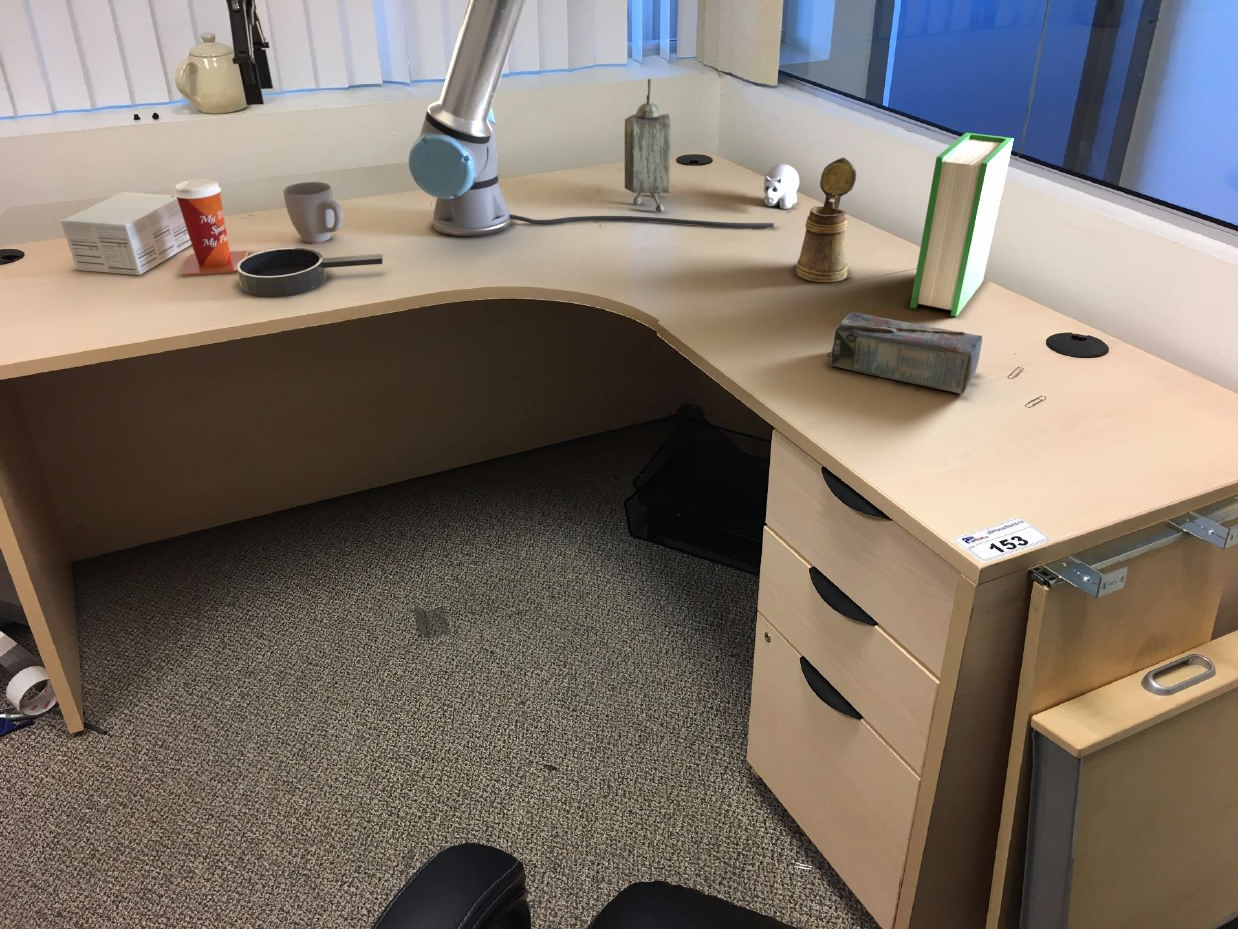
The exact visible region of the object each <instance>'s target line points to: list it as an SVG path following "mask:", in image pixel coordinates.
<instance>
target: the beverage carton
mask: <svg viewBox="0 0 1238 929" xmlns="http://www.w3.org/2000/svg"><path fill="white" fill-rule="evenodd" d="M982 343H983V335H981V334H980V335H978V334H973V333H969V332H964V331H956V330H952V329H944V328H939V327H934V326H929V325H923V324H918V323H917V324H916V323H911V322H907V321H906V322H905V321H900V320H896V319H891V318H886V317H879V316H874V315H869V314H864V313H861V312H860V313H859V312H855V311H851V312H850V313H848V315H847V316H846V317H845V318H844V319H843V320H842V321H841V322H840V323H839V324H838V325H837V327H835V329H834V331H833V342H832V347H831V353H830V366H831V367H836V368H841V369H845V370H850V371H854V372H858V373H861V374H866V375H869V376H870V375H871V376H876V377H880V378H884V379H889V380H895V381H899V382H905V383H910V384H914V385H920V386H924V387H928V388H933V389H939V390H942V391H947V392H952V393H955V394H959V395H963V394H964V393H965V391H966V390H967V388H968V386H969V384H970V383H971V381H972V380H973V378H974V376H975V375H976V372H977V368H978V365H979V362H980V355H981V351H982Z"/></svg>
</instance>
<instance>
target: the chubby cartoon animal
mask: <svg viewBox="0 0 1238 929" xmlns="http://www.w3.org/2000/svg"><path fill="white" fill-rule="evenodd" d="M799 185H800V177H799V174H798V172H797V170H796V169H795V168H794V167H792V166H791V165H789V164H785V163H780V164H776V165H774V166H771V168H770V169H769V170H767V172H766V174H765V176H764V179H763V193H764V205H766V206H767V207H775V206H777V204H779V208H780V209H783V210H787V209H792V207H793V205H795V204H797V202H798V199H797V198H798V197H797V193H796V192H797V191H798V189H799Z"/></svg>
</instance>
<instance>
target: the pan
mask: <svg viewBox="0 0 1238 929" xmlns="http://www.w3.org/2000/svg"><path fill="white" fill-rule="evenodd" d="M323 258H324V256H323V255H322V254H321V252H318V251H316V250H313V249H308V248H303V247H302V248H301V247H283V248H282V247H281V248H275V249H274V248H273V249H268V250H267V249H266V250H263V251H259V252H256V253H253V254H251V255H247V257H246V258H244V259H242V260H241V261H240V262H238V264H237V266H236V270H237V278H238V282H239V287H240V289H241V290H242V291H243V292H244V293H245V294H247V295H251V296H254V297H261V298H282V297H290V296H296V295H301V294H304V293H307V292H310V291H312V290H315V289H316V288H319V287H320V286H322V285H323V284H324V283H325V282H326V280H327V271H326V268H323Z"/></svg>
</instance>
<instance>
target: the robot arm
mask: <svg viewBox="0 0 1238 929" xmlns="http://www.w3.org/2000/svg"><path fill="white" fill-rule="evenodd" d="M225 1H226V5H227V9H228V16H229V24H230V31H231V40H232V47H233V54H234V55H233V57H232V58H231V60H232V64H233V65H238V71H239V75H240V78H241V83H242V89H243V93H244V98H245V103H246V106H254V105H255V106H257V105H258V106H259V105H264V104H265V102H264V96H263V91H262V90H271V89H272V90H273V89H274V87H273V86H274V85H273V80H272V75H271V69H270V64H269V58H268V54H267V49H270V48H271V47H270V42H269V41H267V37H266V36H265V31H264V28H263V24H262V21H261V17H260V14H259V13H260V12H259V10H258V6H257V1H256V0H225ZM526 1H527V0H468V2H467V5H466V10H465V12H464V16H463V19H462V23H461V26H460V29H459V33H458V37H457V39H456V43H455V46H454V51H453V53H452V57H451V61H450V64H449V67H448V70H447V74H446V77H445V81H444V83H443V84H444V85H443V88H442V91H441V95H440V97H439V100H438V101H435V102H433V103H431V104H429V105H428V107H427V110H426V113H425V115H424V116H425V117H424V120H423V124H422V127H421V130H420V133H419V136H418V138H417V139H416V140H415V141H414V142H413V145H411V148H410V151H409V154H408V169H409V172H410V175H411V177H412V178H413V180H414V182H415V183H416V185H417V186H418V187H419V188H420V189H421V190H422V191H423V192H424V193H427V195H429V196H432V197H434V198H436V201H435V205H434V209H433V203H432V200H431V199H430V201H429V202H430V206H431V210H433V216H432V222H433V229H435V231H437V232H438V233H440V234H443V235H448V236H451V237H453V236H454V237H463V238H464V237H465V238H466V237H467V238H468V237H482V236H488V235H493V234H497V233H499V232H502V231H504V230H506V229H507V228H509V227H510V225H511V220H513V221H514V220H515V221H520V222H524V223H528V224H533V225H555V224H560V223H562V224H563V223H568V222H584V221H635V222H655V223H666V224H680V225H691V226H707V227H720V228H775V227H774V226H775V224H774V222H725V221H724V222H723V221H710V220H708V221H706V220H693V219H682V218H669V217H653V216H638V215H637V216H636V215H586V216H569V217H568V216H567V217H561V218H559V217H558V218H552V219H534V218H529V217H526V216H520V215H515V214H511V212H510V210H509V207H508V204H507V202H506V199H505V197H504V195H503V192H502V189H501V187H500V183H499V182H500V181H499V169H498V156H497V154H498V153H497V140H496V139H497V138H496V127H495V126H496V120H495V116H494V111H493V108H492V105H493V103H494V99H495V97H496V93H497V90H498V87H499V85H500V81H501V78H502V75H503V71H504V69H505V66H506V63H507V60H508V56H509V53H510V51H511V47H512V44H513V41H514V38H515V35H516V32H517V30H518V26H519V23H520V20H521V16H522V14H523V10H524V7H525V5H526Z"/></svg>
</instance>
